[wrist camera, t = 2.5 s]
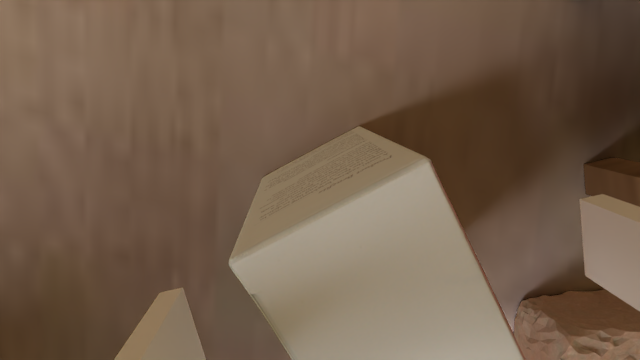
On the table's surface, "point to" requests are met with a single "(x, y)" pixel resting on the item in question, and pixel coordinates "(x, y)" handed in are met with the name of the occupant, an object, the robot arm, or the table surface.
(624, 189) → the brown flat-topped fixture
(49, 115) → the table surface
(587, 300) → the brick
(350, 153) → the small box
